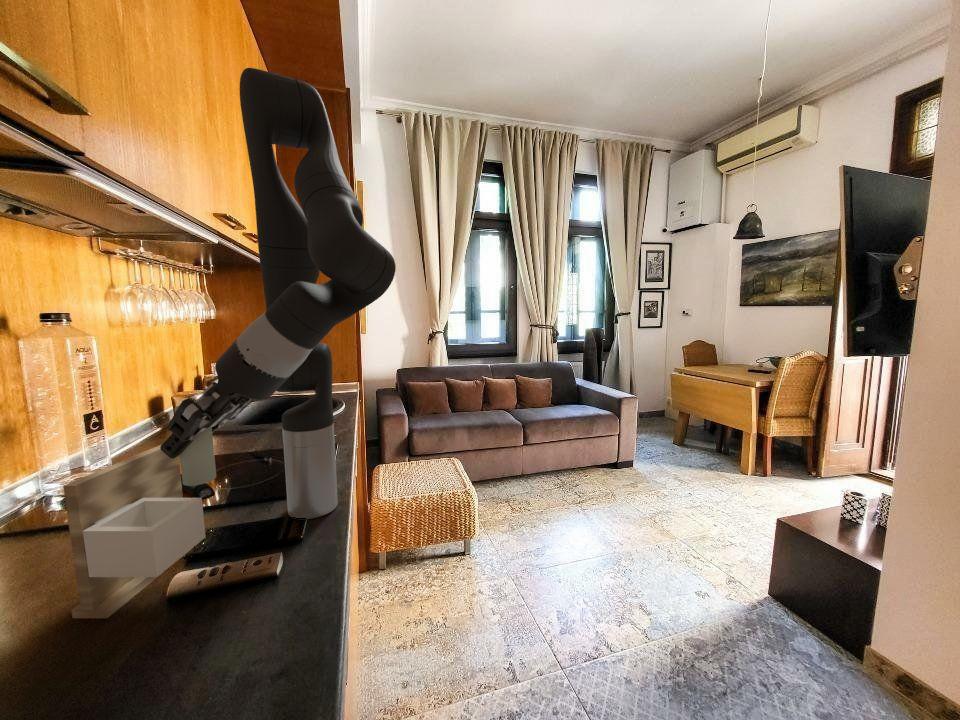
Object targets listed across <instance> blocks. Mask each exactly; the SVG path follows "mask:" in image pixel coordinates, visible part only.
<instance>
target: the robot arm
mask: <svg viewBox="0 0 960 720" xmlns="http://www.w3.org/2000/svg"><path fill="white" fill-rule="evenodd" d="M239 100H240V101H239V104H240V109H241V117H242V123H243V124H242V125H243V131H244V136H245V142H246V150H247V153H248V155H247V156H248V160H249V166H250V167H249V168H250V172H251V178H252V186H253V187H252V188H253V196H254V207H255V219H256V220H255V221H256V238H257V248H258V256H259V257H258V258H259V259H258V260H259V266H260V273H261V278H262V285H263V294H264V302H265V309H266V310H265V311H264V312H263V313H262V314H261V315H259V316H258V317H257V318H255V320H254V321H252V322H251V323H250V324H249V325H248V326H247V327H246V328H245V330H244V331H243V332H242V333H241V334H240V335H239V336H238V337H237V338H236V339H235V340H234V341H233V342H232V344H231V345H230V346H229V347H228V348H226V350H224V352H223V353H222V354H221V355H220V356H219V358H217V360H216V361H215V364H214V370H215V374H216V375H217V382H216V381H215V382H213V383H211V384H209V385H208V386H207V387H206V388H205V389H203V392H202V394H201V395H200V396H199V397H198V398H197V399H196V400H195V401H194V400H192V399H191V398H190V397H189V398H185V399H183V400H182V401H181V402H180V403H179V405H178V406H179V407H178V409H177V410H176V412H175V411H174V414H173V416H172V417H171V419H170V420H169V423H168V424H167V426H166V429H167V430H168V431H169V432H171V434H170V436H169V437H167V438H166V440H165V441H164V442H163V443H162V444H160V445H161V447H160V449H161V450H162V451H163V452H164V453H165V454H166V455H167V456H168V457H170V458H172V459H173V458H176V457H178V456H179V457H180V454H181V453H182V452H183V451H184V450H185V449H186V448H187V447H188V446H189V445H190V444H191V443H192V441H193V440H194V439H196V438H197V437H198V436H199V435H200V434H201V433H202V432H203V431H204V430H205V429H206V428H210V427H212V434H214V433H215V431H216V430H218V428H221V427H223V426H224V425H225V424H226V423H227V422H228V421H233V420H234V419H236V418H237V416H239V414H241V413H242V412H243V411H244V410H245V409H246V408H248V406H249V405H251V404H252V403H253V402H254V401H263V400H267V399H269V398H271V397H272V396H273V395H274V394H275V393H276V392H278V393H294V392H295V393H296V392H310V391H313V392H315V393H314V394H313V396H311V398H309V399H308V400H306V401H305V402H302V403H300V404H298V405H295V406H293V407H291V408H289V409H286V410H285V411H284V412H283V413H282V416H281V428H282V429H281V430H282V442H283V456H284V457H283V458H284V460H283V461H284V472H285V487H286V488H285V489H286V502H287V504H286V505H287V514H288V516H289V517H290V518H293V517H296V518H306V519H305V520H311V519H315V518H319V517H322V516H325V515H328V514H329V513H331V512H333V511H334V510H335V509H336V508H337V506H338V503H339V501H338V482H337V480H338V479H337V462H336V461H337V460H336V459H337V457H336V442H335V439H336V438H335V421H334V409H333V357H332V350H331V348H330V346H329V345H328V344H327V343H324V342H321V341H322V340H324V339H325V337H326V336H327V335H329V333H330V332H331V331H332V330H333V329H334V328H335V326H337V325H338V324H340V323H341V322H345V320H347V319H349V318H351V317H352V316H354V315H355V314H357V313H359V312H360V311H362V310H363V309H365V308H366V307H368V306H370V305H371V304H373V303H374V302H375V301H377V300H379V298H381V297H382V296H383V295H384V294H385V293H386V292H387V290H388V289H389V288H390V286H391V284H392V283H393V280H394V278H395V275H396V270H397V269H396V261H395V259H394V256H393V255H392V254H391V252H390V251H388V249H387V248H385V246H383V245H382V244H381V243H380V242H379V241H378V240H377V239H375V238H374V237H373V236H372V235H371V234H370V233H368V232H367V231H366V230H365V229H364V228H363V224H364V215H363V214H364V213H363V211H362V208H361V205H360V202H359V200H358V198H357V197H356V195H355V192H354V190H353V188H352V187H351V185H350V181H348V179H347V176H346V174H345V172H344V170H343V167H342V164H341V161H340V156H339V153H338V149H337V146H336V142H335V137H334V134H333V131H332V130H333V129H332V128H331V122H330V120H329V116H328V113H327V109H326V107H325V104H324V101H323V98H322V97H321V95H320V93H319V92H318V90H317V89H316V88H315V87H314V86H313V85H311V84H310V83H307V82H306V81H303V80H299V79H297V78H293V77H290V76H286V75H282V74H278V73H275V72H270V71H267V70H263V69H259V68H255V67H254V68H253V67H246V68H244V69H243V71H242V72H241V75H240V77H239ZM273 145H277V146H282V147H283V146H284V147H289V148H293V149H294V148H295V149H299V150H304V149H306V150H307V152H306V153H305V154H304V156H303V157H302V158H301V160H300V161H299V163H298V166H297V167H296V170H295V173H294V179H293V181H294V191H295V194H296V197H297V200H298V202H297V200H296V198H295V197H294V196H293V194H292V192H291V191H290V189H289V187H288V186H287V183H286V182H285V179H283V178H284V177H283V176H282V174H281V171H280V168H279V166H278V163H277V160H276V156H275V152H274V146H273ZM320 273H322V274H323V275H324V276H325V277H327V278H329V279H330V280H328V281H326V282H324V283H317V281H318V279H319V278H320V277H319V276H320ZM206 414H208V415H209V416H211V419H210V418H209V417H208V416H207V415H206ZM199 424H200V426H199ZM198 426H199V427H198ZM296 518H295V519H296Z"/></svg>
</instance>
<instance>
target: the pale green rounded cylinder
mask: <svg viewBox="0 0 960 720" xmlns="http://www.w3.org/2000/svg"><path fill="white" fill-rule="evenodd" d="M178 407H179V405H177V406H175V407H174V413H175V412H176V410H177V409H178ZM206 415H207V416H208V417H209V418H210V419H211V416H209V415H208V414H206ZM199 426H200V424H199ZM199 426H198V427H199ZM213 437H214V435H213V433H212V427H210V428H206V429H205V430H204V431H203V432H202V433H201V434H200V435H199V436H198V437H197V438H196V439H194V440H193V441H192V443H191V444H190V445H189V446H188V447H187V448H186V449H185V450H184V451H183V452H182V453H181V454H180V455H179V464H180V473H181V474H182V481H183V485H186V486H194V485H200V484H204V483H207V484H208V483H210V482H212V481H214V480H215V479H216V478H217V469H216V458H215V449H214V438H213Z"/></svg>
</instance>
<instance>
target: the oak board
mask: <svg viewBox="0 0 960 720" xmlns="http://www.w3.org/2000/svg"><path fill="white" fill-rule="evenodd" d="M161 445H162V444H159V445H157V446H154V447H151V448H150V449H148V450H145V451H142V452H140V453H137V454H136V455H132V456H131V457H128V458H126V459H124V460H121V461H119V462H117V463H114V464H112V465H109V466H107V467H105V468H102V469H100V470H98V471H95V472H92V473H90V474H87V475H86V476H83V477H80V478H79V479H75V480H74V481H71V482H69V483H66V484H64V485H62V487H63V495H64V500H65V507H66V515H67V520H68V528H69V529H68V530H69V536H70V542H71V543H70V544H71V549H72V556H73V563H74V570H75V577H76V585H77V591H78V598H79V604H76V606H74V607H73V608H72V609H71V615H72V619H108V618H110V617H111V616H112V615H113V614H115V613H116V612H117V611H119V610H120V609H121V608H122V607H123V606H124V605H126V604H127V603H129V601H130V600H132V599H133V598H134V597H135V596H136V595H138V594H139V593H140V592H141V591H142V590H144V589H145V588H146V587H148V586H149V585H150V584H151V583H152V582H154V581H155V580H156V579H157V578H158V577H89V573H88V565H87V558H86V551H85V544H84V537H83V531H84V530H86V529H87V528H89V527H91V526H93V525H94V523H95V522H97V521H98V520H100V519H102V518H104V517H106V516H108V515H109V514H111V513H113V512H115V511H117V510H119V509H120V508H122V507H124V506H126V505H128V504H133V503H134V502H136V501H138V500H140V499H142V498H184V495H183V491H182V483H181V474H182V473H181V463H180V455H179V456H178V457H176V458H173V459H172V458H170V457H168V456H167V455H166V454H165V453H164V452H163V451H162V450H161V449H160V447H161ZM190 551H191V550H189V551H188V552H187V553H189V552H190ZM184 556H185V555H183V556H182V557H184ZM178 561H179V560H177V561H176V562H178ZM173 565H174V564H172V565H171V566H170V567H172V566H173ZM167 570H168V569H166V570H165V571H167ZM161 575H162V574H160V575H159V576H161Z"/></svg>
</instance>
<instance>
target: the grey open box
mask: <svg viewBox="0 0 960 720" xmlns="http://www.w3.org/2000/svg"><path fill="white" fill-rule="evenodd" d="M203 506H204V505H203V500H202V498H194V497H183V498H142V499H140V500H138V501H136V502H134V503H133V504H128V505H126V506H124V507H122V508H120V509H119V510H117V511H115V512H113V513H111V514H109V515H108V516H106V517H104V518H102V519H100V520H98V521H97V522H95V523H94V525H93V526H91V527H89V528H87V529H86V530H84V531H83V537H84V544H85V551H86V558H87V565H88V573H89V577H157V578H159V576H161V575H162V574H164V572H166V571H167V570H168V569H169V568H170V567H172V566H173V565H174V564H175V563H176V562H178V561H179V560H180V559H181V558H182V557H184V556H185V555H186V554H187V553H189V552H190V551H191V550H192V549H193V548H194V546H195V547H196V546H197V545H199V543H201V542H202V541H203V540H204V539H205V538H206V529H205V518H204V517H205V515H204V507H203ZM189 550H190V551H189ZM188 551H189V552H188ZM183 555H184V556H183ZM177 560H178V561H177ZM172 564H173V565H172ZM171 565H172V566H171ZM166 569H167V570H166ZM160 574H161V575H160Z"/></svg>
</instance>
